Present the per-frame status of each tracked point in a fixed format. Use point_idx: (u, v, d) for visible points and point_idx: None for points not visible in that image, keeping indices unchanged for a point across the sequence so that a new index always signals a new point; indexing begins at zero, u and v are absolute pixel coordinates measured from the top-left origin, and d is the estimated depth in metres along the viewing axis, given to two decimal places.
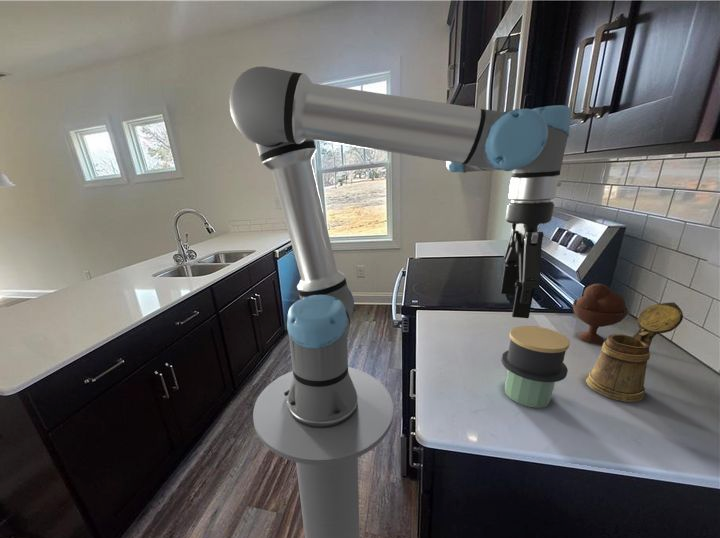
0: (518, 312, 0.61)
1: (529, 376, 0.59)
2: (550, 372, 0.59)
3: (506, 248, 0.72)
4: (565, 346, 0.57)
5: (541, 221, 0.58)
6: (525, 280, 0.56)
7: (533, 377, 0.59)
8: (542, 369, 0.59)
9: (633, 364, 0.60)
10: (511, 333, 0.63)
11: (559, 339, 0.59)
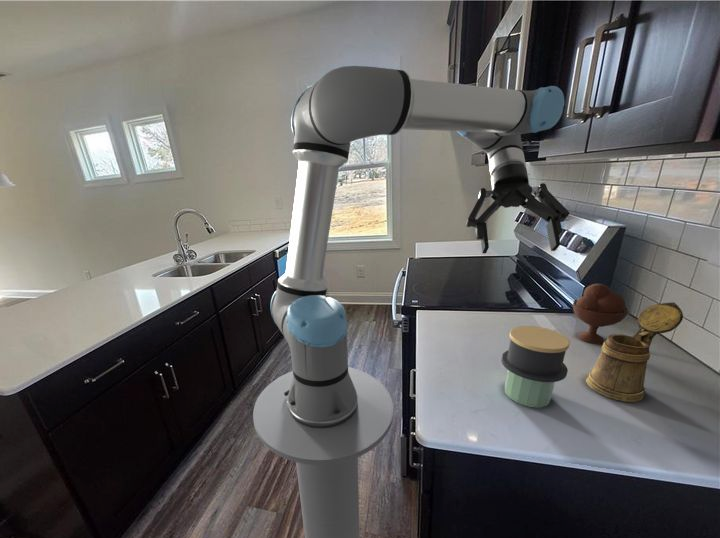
0: None
1: (529, 376, 0.59)
2: (550, 372, 0.59)
3: (473, 210, 0.74)
4: (565, 346, 0.57)
5: None
6: None
7: (533, 377, 0.59)
8: (542, 369, 0.59)
9: (633, 364, 0.60)
10: (511, 333, 0.63)
11: (559, 339, 0.59)
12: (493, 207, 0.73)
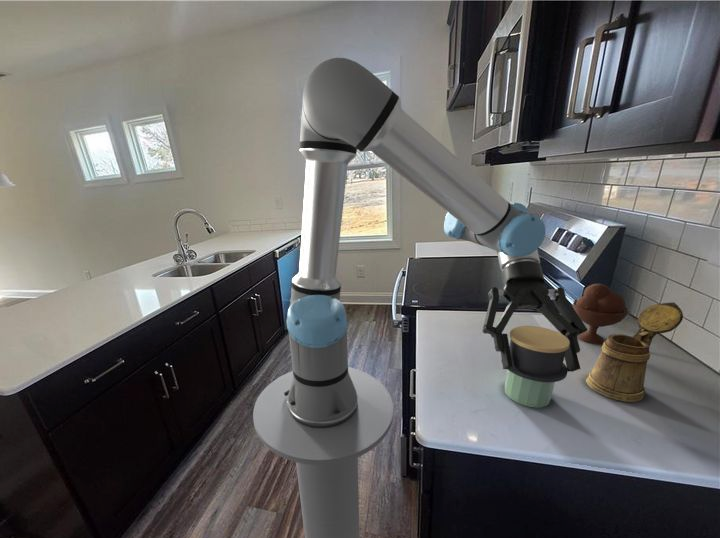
0: None
1: (529, 376, 0.59)
2: (550, 372, 0.59)
3: (490, 315, 0.65)
4: (565, 346, 0.57)
5: None
6: (584, 326, 0.61)
7: (533, 377, 0.59)
8: (542, 369, 0.59)
9: (633, 364, 0.60)
10: (511, 333, 0.63)
11: (559, 339, 0.59)
12: (511, 312, 0.64)
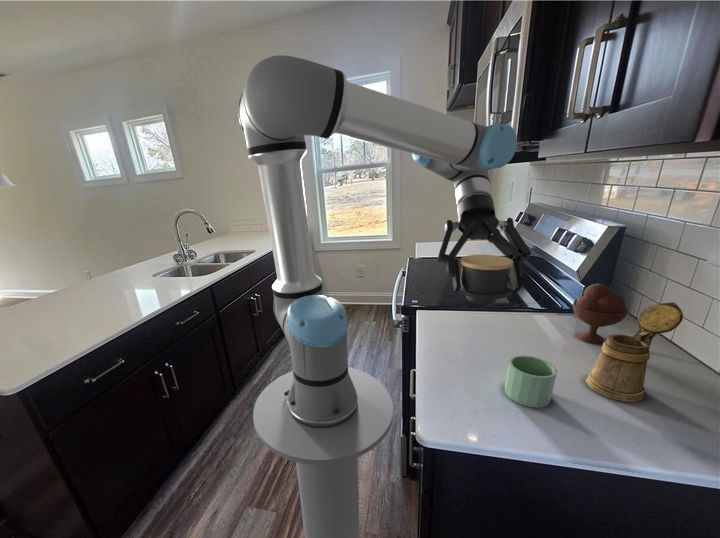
0: None
1: (475, 295, 0.63)
2: (494, 290, 0.63)
3: (443, 244, 0.69)
4: (507, 264, 0.61)
5: None
6: (529, 250, 0.65)
7: (478, 295, 0.63)
8: (487, 287, 0.63)
9: (633, 364, 0.60)
10: (462, 259, 0.67)
11: (504, 261, 0.64)
12: (462, 241, 0.68)
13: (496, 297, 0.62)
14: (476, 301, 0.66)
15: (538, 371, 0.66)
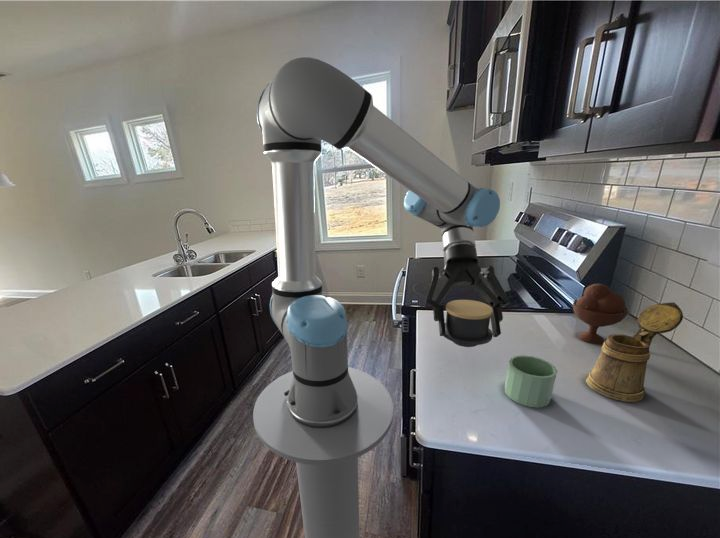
0: None
1: (459, 340, 0.69)
2: (476, 336, 0.69)
3: (430, 291, 0.75)
4: (487, 314, 0.67)
5: None
6: (508, 298, 0.71)
7: (461, 341, 0.69)
8: (469, 334, 0.69)
9: (633, 364, 0.60)
10: (447, 305, 0.73)
11: (484, 309, 0.70)
12: (447, 288, 0.75)
13: (477, 343, 0.68)
14: (460, 345, 0.72)
15: (538, 371, 0.66)
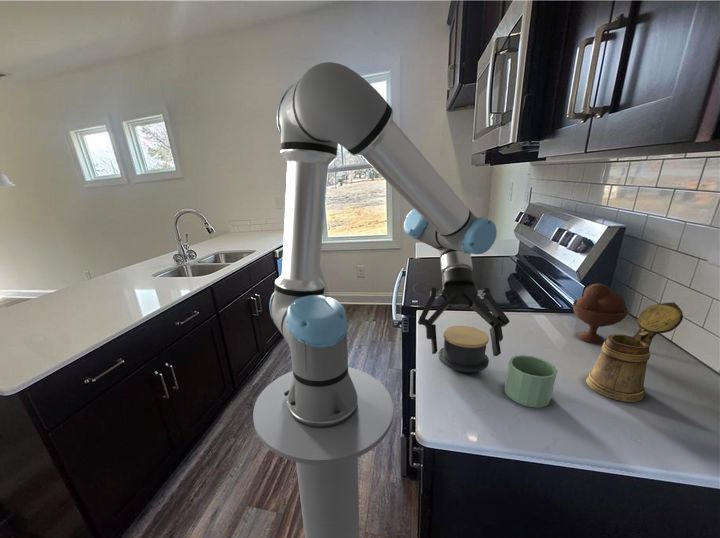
0: None
1: (456, 367, 0.72)
2: (473, 364, 0.71)
3: (424, 310, 0.78)
4: (483, 342, 0.70)
5: None
6: (507, 318, 0.74)
7: (458, 368, 0.72)
8: (466, 361, 0.71)
9: (633, 364, 0.60)
10: (444, 332, 0.75)
11: (481, 337, 0.72)
12: (442, 309, 0.77)
13: (474, 370, 0.71)
14: (457, 370, 0.75)
15: (538, 371, 0.66)
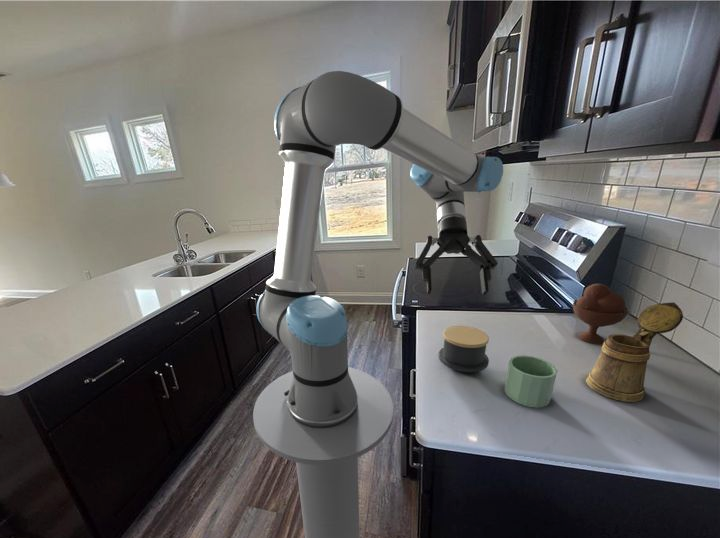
0: None
1: (456, 367, 0.72)
2: (473, 364, 0.71)
3: (421, 255, 0.85)
4: (483, 342, 0.70)
5: None
6: (496, 261, 0.82)
7: (458, 368, 0.72)
8: (466, 361, 0.71)
9: (633, 364, 0.60)
10: (444, 332, 0.75)
11: (481, 337, 0.72)
12: (437, 254, 0.85)
13: (474, 370, 0.71)
14: (457, 370, 0.75)
15: (538, 371, 0.66)
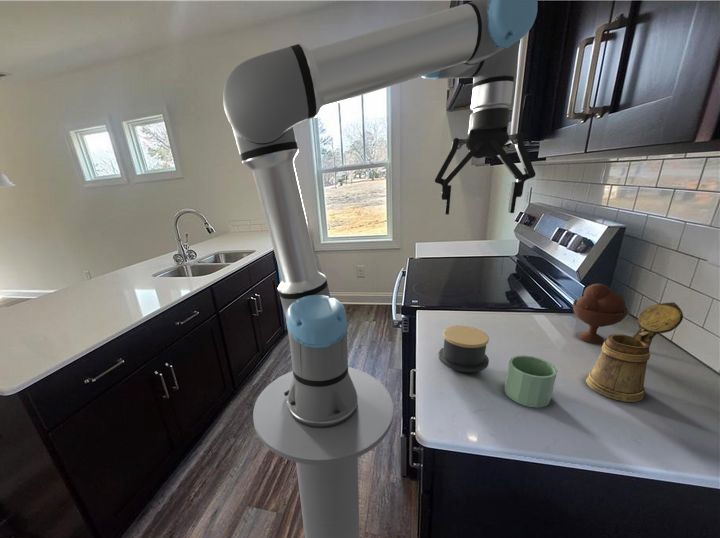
0: None
1: (456, 367, 0.72)
2: (473, 364, 0.71)
3: (442, 169, 0.73)
4: (483, 342, 0.70)
5: None
6: (534, 171, 0.67)
7: (458, 368, 0.72)
8: (466, 361, 0.71)
9: (633, 364, 0.60)
10: (444, 332, 0.75)
11: (481, 337, 0.72)
12: (462, 165, 0.71)
13: (474, 370, 0.71)
14: (457, 370, 0.75)
15: (538, 371, 0.66)
